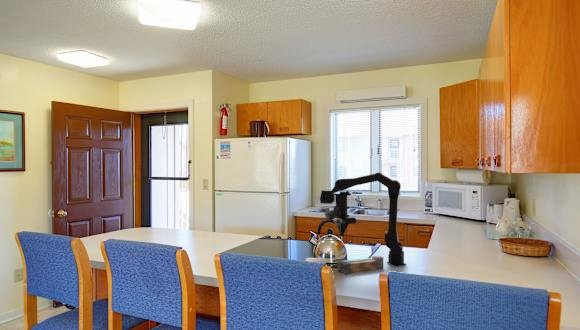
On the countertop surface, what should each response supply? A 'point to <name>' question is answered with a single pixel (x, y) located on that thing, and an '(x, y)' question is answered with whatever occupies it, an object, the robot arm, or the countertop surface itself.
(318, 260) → the charger
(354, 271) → the wooden block
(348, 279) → the countertop surface
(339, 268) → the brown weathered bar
